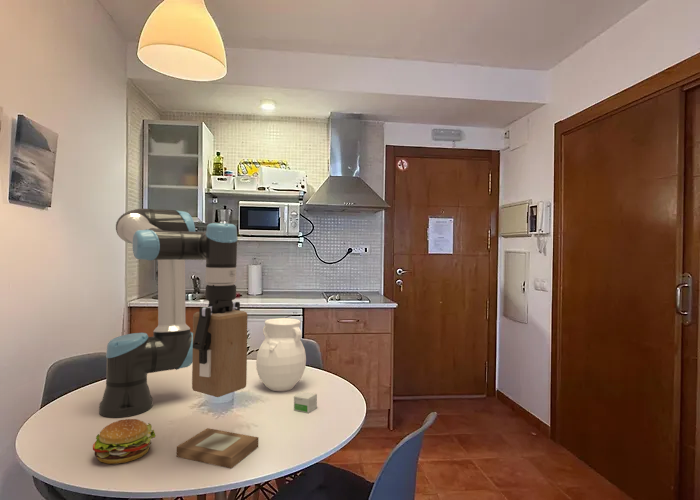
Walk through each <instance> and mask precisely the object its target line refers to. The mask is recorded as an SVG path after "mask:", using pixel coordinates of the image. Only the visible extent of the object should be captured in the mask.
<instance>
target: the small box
mask: <svg viewBox="0 0 700 500" xmlns="http://www.w3.org/2000/svg"><path fill="white" fill-rule="evenodd" d="M317 408H318V393H316V392H315V393H314V392H309V391H303V390H302V391H301V392H298V393H297V394H295V395H294V396H293V411H295V412H301V413H306V414H310V413H312V411H315V409H317Z"/></svg>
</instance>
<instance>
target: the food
mask: <svg viewBox="0 0 700 500" xmlns="http://www.w3.org/2000/svg"><path fill="white" fill-rule="evenodd" d="M152 426H153V425H152V424H151V423H148V424H147V423H146V422H144V421H143V420H140V419H136V418H126V419H119V420H116V421H114V422H111V423H109V424H107V425H106V426H104V427H103V429H102V430H101V431H99V433H98V434H97V435H96V436H95V439H96V441H95V442H94V443H93V445H92V450H93V451H94V455H95V457H96V458H97V460H98V461H99V462H100V463H104V464H108V465H109V464H110V465H113V464H114V465H116V464H124V463H128V462H132V461H135V460H137V459H139V458H140V459H141V458H142V457H143V456H145V455H146V454H147V453H149V449H150V446H151V444H152V442H151V440H152V439H153V438H155V437H156V433H155V430H154V429H152V428H153V427H152Z"/></svg>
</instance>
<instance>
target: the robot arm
mask: <svg viewBox="0 0 700 500" xmlns="http://www.w3.org/2000/svg"><path fill="white" fill-rule="evenodd" d="M237 229H238V228H237V226H236V225H235V224H233V223H221V222H218V223H217V222H213V223H208V224H207V225H206V231H196V226H195V221H194V219H193V217H192V215H191V214H190V213H189V212H188V211H185V210H184V211H183V210H177V209H156V208H155V209H153V208H136V209H132V210H129V211H127V212H125V213H123V214H122V215H120V216H119V218H118V219H117V221H116V222H115V231H116V234H117V236H118V237H119V238H120V239H121V240H122V241H124V242H125V243H127V244H132V253H133V256H134V257H135V259H137V260H144V261H157V280H158V281H157V293H158V295H157V296H158V297H157V311H158V312H157V313H158V314H157V315H158V317H157V320H158V325H157V327H155V329H154V330H153V332H152V333H153V335H152V336H149V335H148V333H146V332H134V333H128V334H127V333H126V334H123V335H119V336H115V337H114V338H112V339H110V340H108V343H107V346H106V353H105V358H106V374H105V378H106V379H105V381H106V382H105V389H104V392H103V396H102V398H101V399H102V400H101V401H100V402H99V407H98V408H99V409H98V410H99V411H98V413H99V415H100V416H103V417H106V418H126V417H133V416H137V415H139V414H142V413H145V412H147V411H149V410H151V409H152V408H153V396H152V395H151V391H150V388H149V385H148V374H152V373H159V372H165V371H173V370H175V371H177V370H180V369H185V368H188V367H190V366H191V365H192V358H193V348H194V349H197V350H199V363H200V376H202V377H211V350H209V347H210V344H211V334H210V333H209V332H208V328H209V323H210V319H211V315H212V313H213V314H216V313H225V312H226V311H232V310H239V311H241V303H240V302H239V301H233V300H236V298H237V285H236V284H235V283H236V282H237V260H238V259H237V258H238V257H237V256H238V254H237V253H238V239H239V238H238V230H237ZM187 260H189V261H191V260H194V261H196V260H198V261H199V260H201V261H205V283H206V286H205V299H206V300H207V301H208V305H207V307H203V306H200V307H199V310H198V312H199V320H198V325H197V329H196V333H195V337H194V342H193V331H191V327H190V326H189V325H188V324H187V323H186V261H187ZM198 343H199V344H198Z"/></svg>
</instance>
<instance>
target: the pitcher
mask: <svg viewBox="0 0 700 500" xmlns="http://www.w3.org/2000/svg"><path fill="white" fill-rule="evenodd" d="M300 327H301V320H300V319H297V318H289V317H288V318H287V317H283V318H282V317H281V318H269V319H266V320H264V325H263V328H262V332H263V335H264V340H263V341H262V343H261V344H260V346H259V349H258V351H257V354H256V362H255V363H256V364H255V367H256V372H257V375H258V378H259V379H260V380H261V382H262V383H263V385H264V386H265V387H266V388H267V389H268V390H270V391H272V392H286V391H290V390H292V389H293V388H294V387H295V386H296V385H297V384H298V382H299V381H300V380H301V378H302V377H303V375H304V373H305V369H306V367H307V366H306V365H307V364H306V363H307V356H306V355H307V354H306V349H305V347H304V344H303V342H302V340H301V339H302V336H303V334H302V333H303V332H302V329H301V328H300Z"/></svg>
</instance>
